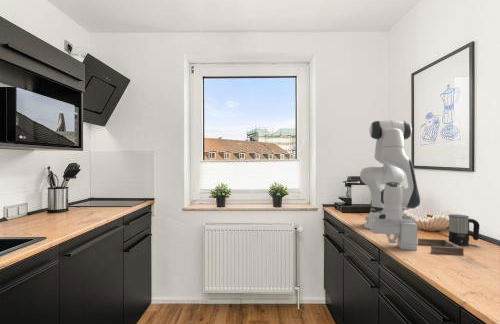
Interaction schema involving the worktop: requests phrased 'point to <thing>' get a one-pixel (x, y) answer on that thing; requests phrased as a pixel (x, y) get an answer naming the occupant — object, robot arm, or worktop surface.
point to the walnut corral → (448, 248)
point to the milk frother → (461, 229)
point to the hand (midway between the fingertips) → (391, 242)
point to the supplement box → (408, 236)
